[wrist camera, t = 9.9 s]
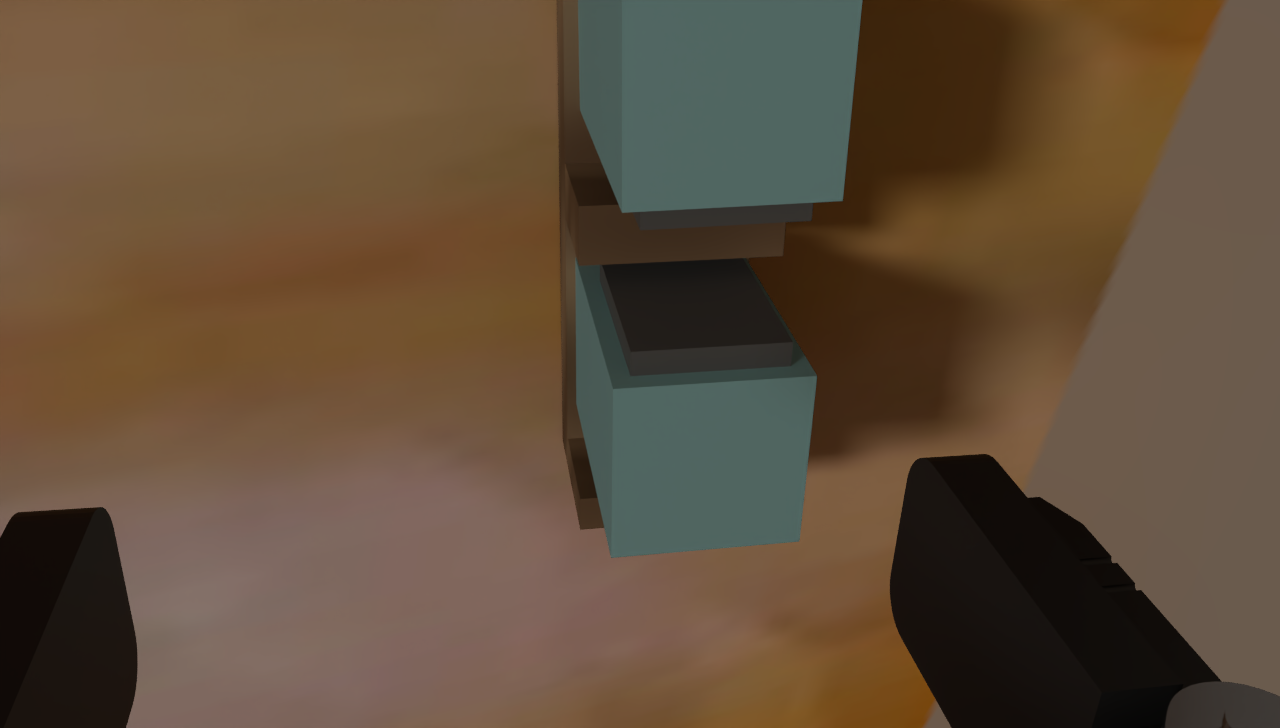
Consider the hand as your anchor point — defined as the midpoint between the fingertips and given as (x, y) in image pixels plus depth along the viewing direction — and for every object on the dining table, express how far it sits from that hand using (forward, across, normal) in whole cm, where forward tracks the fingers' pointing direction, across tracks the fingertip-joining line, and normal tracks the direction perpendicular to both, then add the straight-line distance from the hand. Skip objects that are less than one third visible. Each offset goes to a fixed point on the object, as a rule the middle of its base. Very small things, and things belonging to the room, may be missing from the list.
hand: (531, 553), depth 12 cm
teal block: (+18, -5, -2) cm, 19 cm away
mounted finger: (+19, -5, +7) cm, 21 cm away
